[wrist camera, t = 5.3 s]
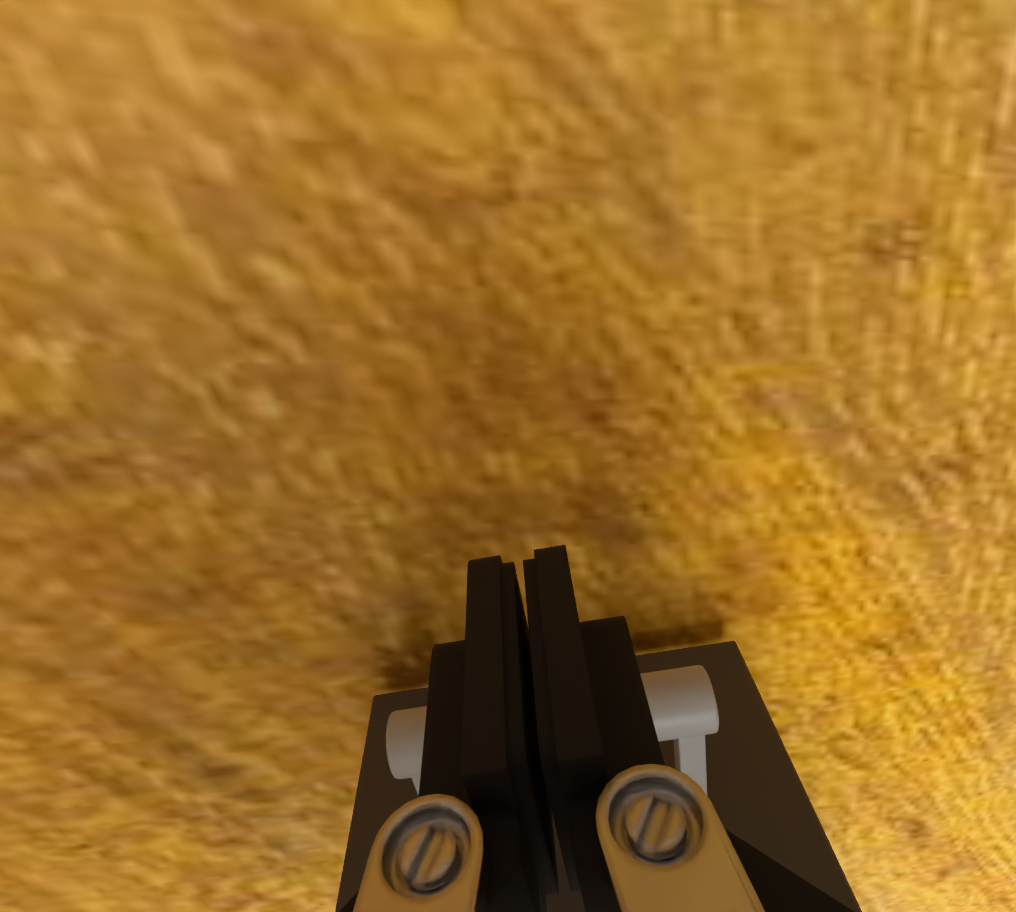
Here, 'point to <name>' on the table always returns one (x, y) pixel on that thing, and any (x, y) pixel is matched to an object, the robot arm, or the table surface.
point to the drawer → (685, 747)
